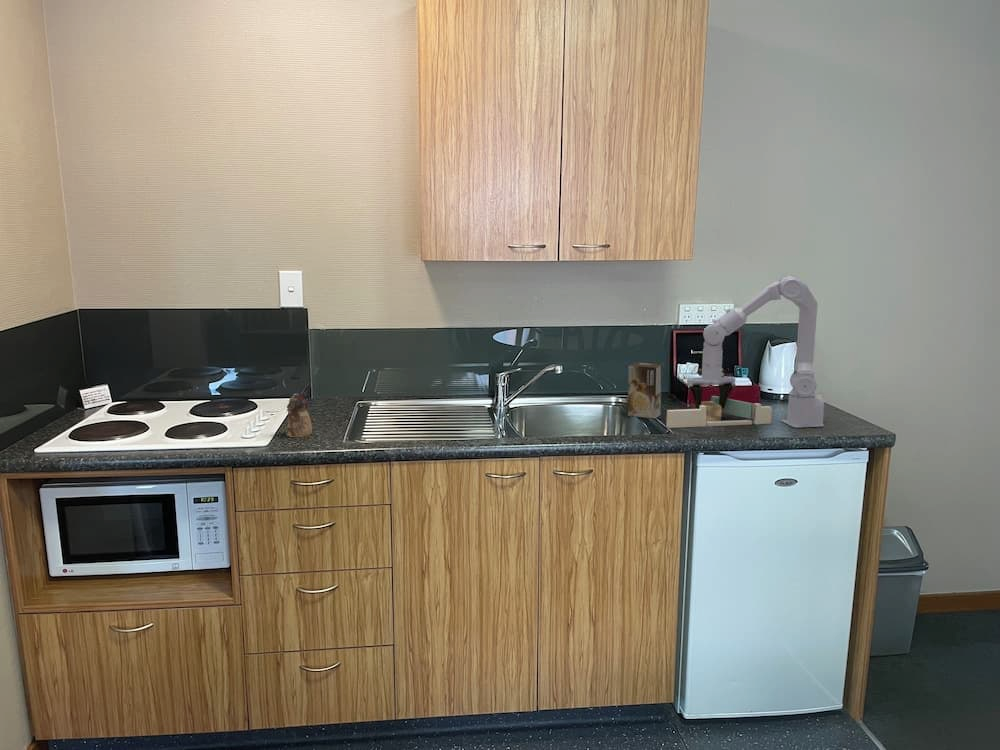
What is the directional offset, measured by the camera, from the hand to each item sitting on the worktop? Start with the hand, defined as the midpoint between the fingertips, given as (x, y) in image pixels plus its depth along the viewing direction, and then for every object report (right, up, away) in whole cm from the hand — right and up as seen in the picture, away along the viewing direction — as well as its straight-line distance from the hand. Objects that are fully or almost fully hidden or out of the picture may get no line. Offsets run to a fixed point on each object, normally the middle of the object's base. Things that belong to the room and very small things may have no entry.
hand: (709, 408), depth 237 cm
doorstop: (0, -4, 0) cm, 4 cm away
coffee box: (-19, -3, +6) cm, 20 cm away
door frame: (+1, -5, -6) cm, 8 cm away
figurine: (-121, -7, -15) cm, 122 cm away
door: (+7, -2, 0) cm, 7 cm away
